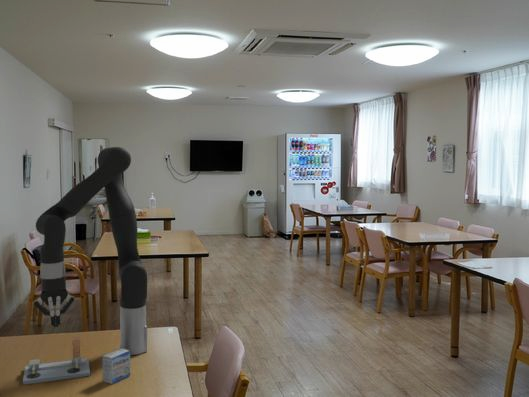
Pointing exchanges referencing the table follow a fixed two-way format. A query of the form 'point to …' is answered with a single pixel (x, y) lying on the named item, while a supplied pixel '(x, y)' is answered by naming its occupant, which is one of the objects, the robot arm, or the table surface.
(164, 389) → the table surface
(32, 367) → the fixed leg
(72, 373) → the bolt plate
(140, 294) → the robot arm
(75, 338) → the sliding leg
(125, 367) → the medicine box
